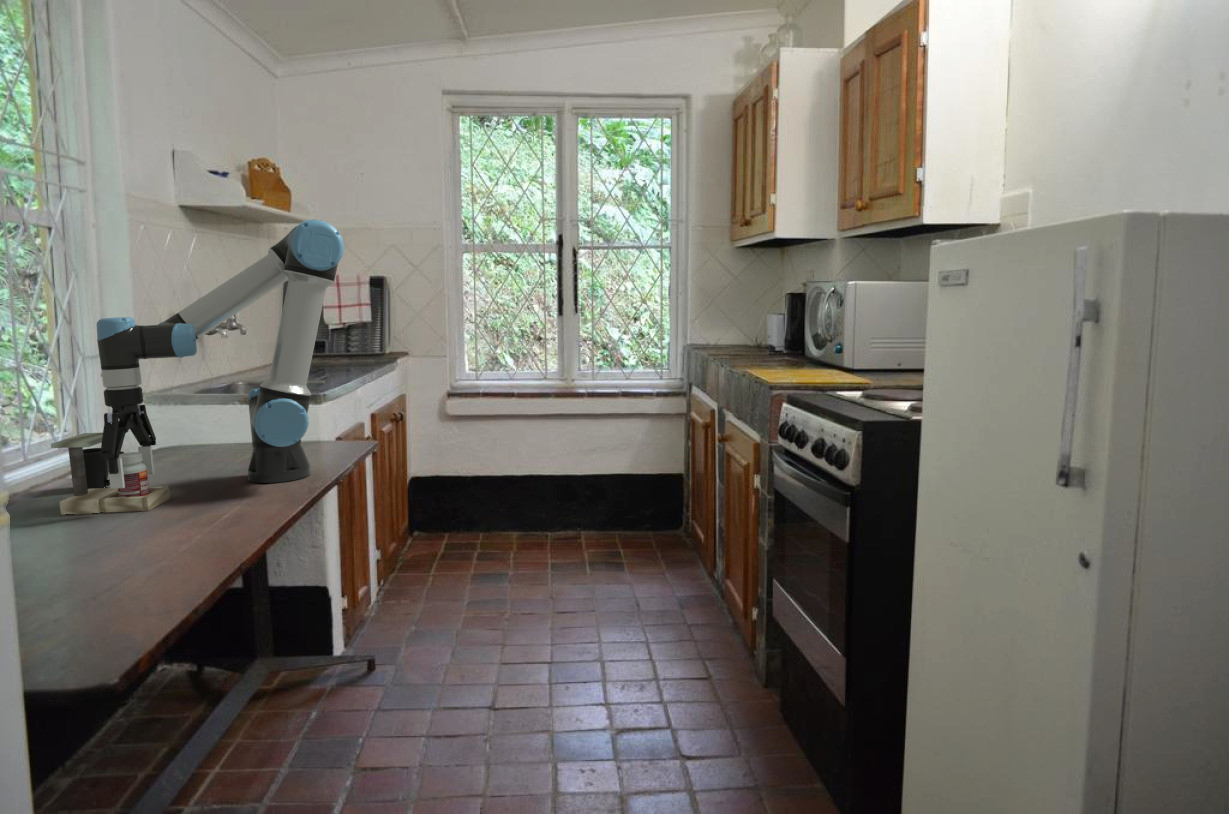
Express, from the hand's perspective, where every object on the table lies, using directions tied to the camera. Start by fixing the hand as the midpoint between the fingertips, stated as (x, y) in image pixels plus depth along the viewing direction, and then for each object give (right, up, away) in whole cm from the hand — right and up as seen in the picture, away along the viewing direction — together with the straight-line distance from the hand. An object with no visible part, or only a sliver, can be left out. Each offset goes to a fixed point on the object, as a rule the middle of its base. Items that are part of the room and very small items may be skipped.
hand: (133, 480), depth 199 cm
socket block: (-4, -6, +1) cm, 7 cm away
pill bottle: (0, -5, +1) cm, 5 cm away
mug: (-19, -4, +20) cm, 28 cm away
